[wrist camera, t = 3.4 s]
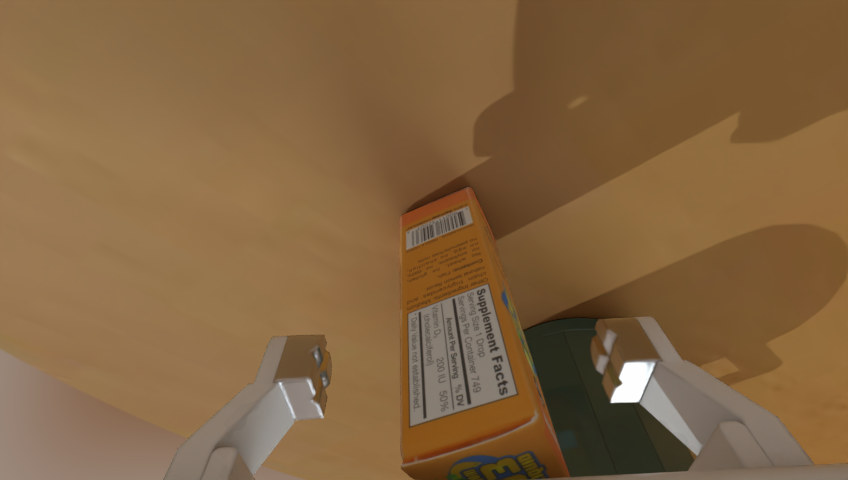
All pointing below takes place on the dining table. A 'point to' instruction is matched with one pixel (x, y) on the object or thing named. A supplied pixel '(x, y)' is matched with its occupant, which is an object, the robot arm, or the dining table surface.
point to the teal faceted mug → (596, 409)
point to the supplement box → (466, 355)
